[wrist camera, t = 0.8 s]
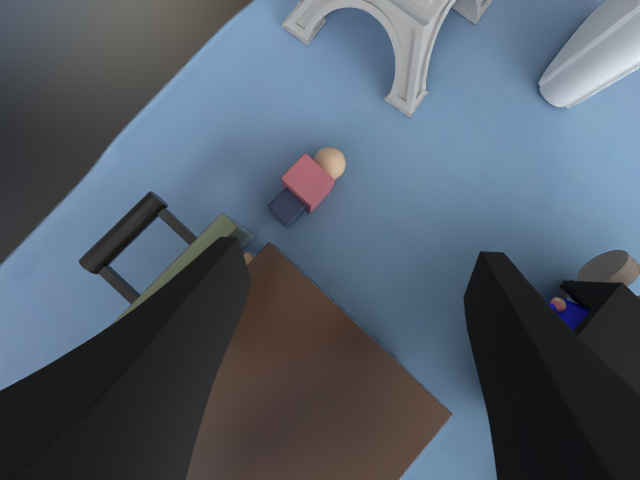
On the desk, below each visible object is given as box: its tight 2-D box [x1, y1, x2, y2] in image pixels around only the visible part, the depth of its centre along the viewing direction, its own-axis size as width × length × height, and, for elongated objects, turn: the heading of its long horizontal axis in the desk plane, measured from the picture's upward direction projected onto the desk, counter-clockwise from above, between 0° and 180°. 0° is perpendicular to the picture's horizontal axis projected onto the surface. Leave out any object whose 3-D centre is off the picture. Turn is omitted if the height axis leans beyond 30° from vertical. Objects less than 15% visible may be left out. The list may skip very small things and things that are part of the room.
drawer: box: [79, 191, 257, 324], centre depth 21 cm, size 17×10×7 cm, turn 47°
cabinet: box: [186, 243, 452, 480], centre depth 21 cm, size 14×12×9 cm
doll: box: [268, 147, 346, 228], centre depth 25 cm, size 7×3×3 cm, turn 137°
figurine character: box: [549, 250, 640, 394], centre depth 24 cm, size 7×8×15 cm
